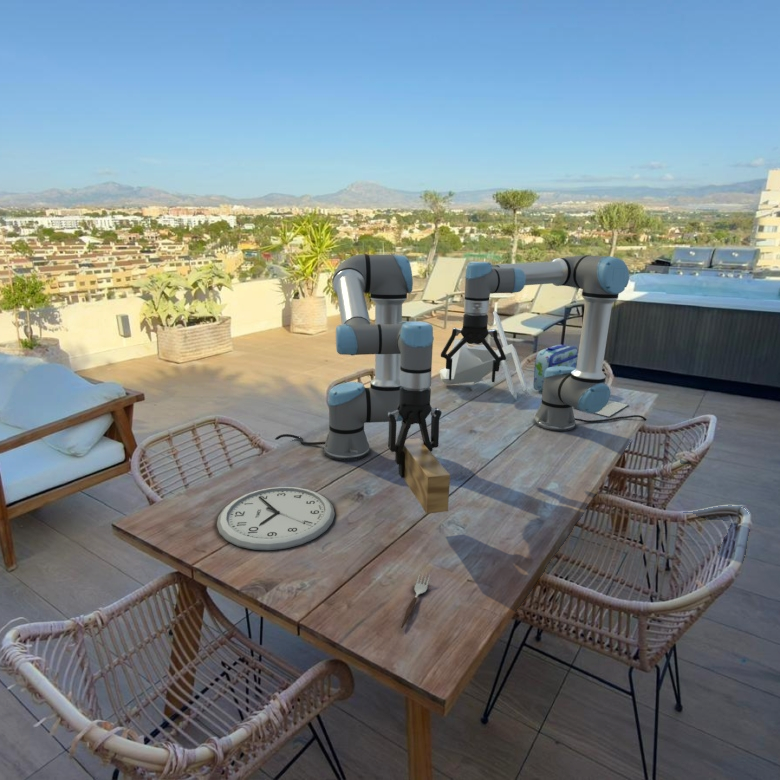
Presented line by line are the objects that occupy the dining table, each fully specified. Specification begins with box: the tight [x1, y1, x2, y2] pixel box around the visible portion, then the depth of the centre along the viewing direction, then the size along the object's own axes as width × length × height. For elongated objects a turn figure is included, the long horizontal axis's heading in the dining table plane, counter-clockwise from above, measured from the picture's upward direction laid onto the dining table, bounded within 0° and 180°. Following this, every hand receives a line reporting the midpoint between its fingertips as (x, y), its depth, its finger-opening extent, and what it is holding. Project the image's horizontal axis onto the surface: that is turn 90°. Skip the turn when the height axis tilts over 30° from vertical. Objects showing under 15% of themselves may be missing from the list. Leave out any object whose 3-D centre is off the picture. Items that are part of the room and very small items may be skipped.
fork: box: [400, 570, 431, 629], centre depth 106 cm, size 3×16×2 cm, turn 160°
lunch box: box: [533, 344, 579, 392], centre depth 247 cm, size 26×11×21 cm, turn 134°
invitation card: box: [595, 399, 629, 418], centre depth 226 cm, size 21×1×15 cm
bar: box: [403, 437, 451, 515], centre depth 125 cm, size 22×5×9 cm, turn 15°
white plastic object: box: [438, 310, 531, 400], centre depth 245 cm, size 37×45×31 cm
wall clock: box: [216, 486, 336, 551], centre depth 136 cm, size 30×2×30 cm
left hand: (412, 473), depth 133 cm, fingers closed on bar, 5 cm apart
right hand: (471, 380), depth 167 cm, fingers open, 13 cm apart
